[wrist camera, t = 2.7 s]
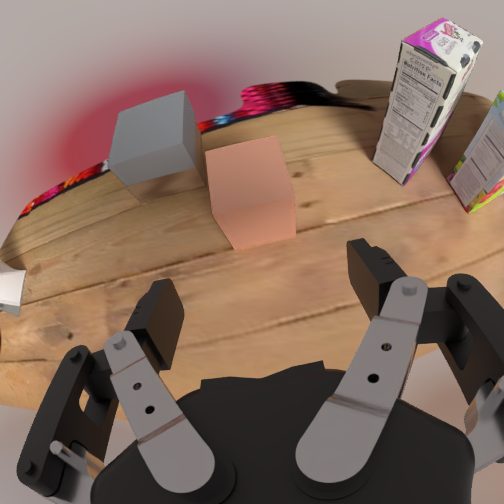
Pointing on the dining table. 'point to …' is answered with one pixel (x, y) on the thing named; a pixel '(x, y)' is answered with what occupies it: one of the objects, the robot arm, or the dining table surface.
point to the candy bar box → (424, 95)
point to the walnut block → (172, 179)
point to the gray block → (154, 139)
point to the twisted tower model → (11, 288)
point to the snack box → (482, 162)
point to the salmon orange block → (251, 192)
